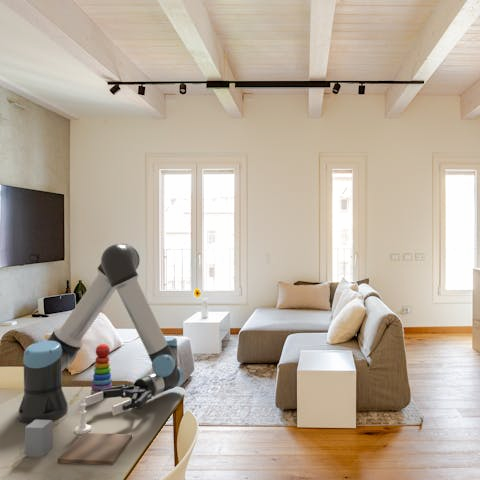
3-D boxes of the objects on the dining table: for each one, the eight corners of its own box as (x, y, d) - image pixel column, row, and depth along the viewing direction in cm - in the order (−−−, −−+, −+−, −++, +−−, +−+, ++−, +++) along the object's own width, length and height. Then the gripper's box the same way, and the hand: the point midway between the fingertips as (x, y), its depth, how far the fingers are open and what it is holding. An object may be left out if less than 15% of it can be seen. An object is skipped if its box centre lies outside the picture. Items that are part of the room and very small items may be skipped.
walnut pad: (57, 462, 111) (57, 459, 111) (83, 436, 126) (83, 433, 126) (112, 464, 110) (112, 460, 110) (132, 437, 125) (132, 434, 125)
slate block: (25, 456, 114) (25, 427, 114) (35, 447, 119) (35, 419, 119) (42, 457, 114) (42, 427, 114) (52, 448, 119) (52, 420, 119)
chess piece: (85, 425, 134) (85, 393, 134) (94, 429, 131) (94, 397, 131) (71, 430, 130) (71, 398, 130) (79, 435, 127) (79, 402, 127)
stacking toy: (106, 397, 157) (105, 347, 157) (86, 396, 159) (86, 346, 159) (116, 390, 165) (116, 342, 165) (97, 389, 166) (97, 341, 166)
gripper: (174, 404, 145) (125, 427, 127) (125, 390, 159) (75, 409, 141) (174, 382, 145) (125, 402, 127) (125, 370, 159) (75, 387, 141)
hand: (99, 406), depth 134 cm, fingers open, 13 cm apart
